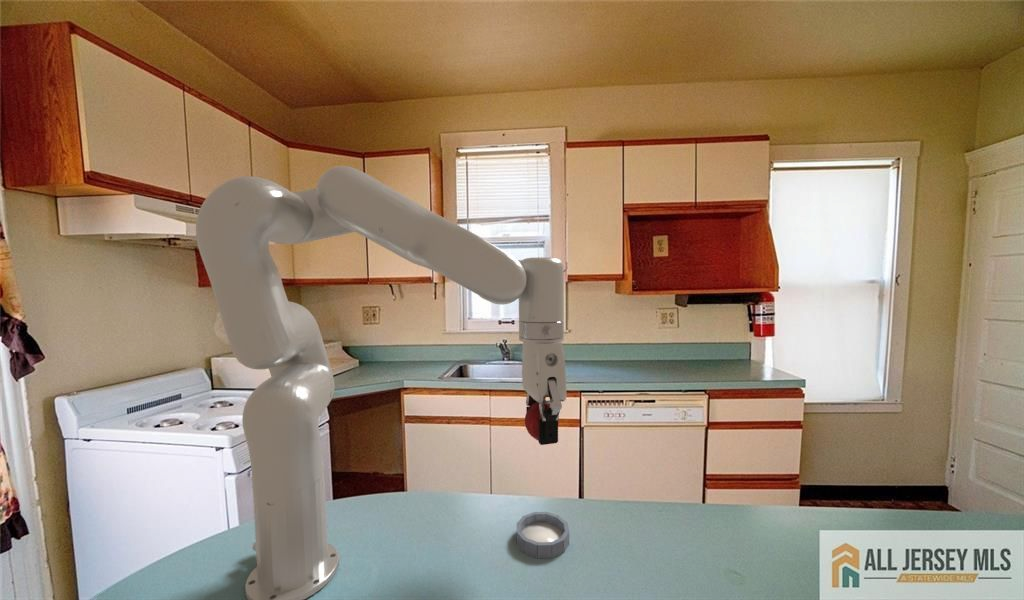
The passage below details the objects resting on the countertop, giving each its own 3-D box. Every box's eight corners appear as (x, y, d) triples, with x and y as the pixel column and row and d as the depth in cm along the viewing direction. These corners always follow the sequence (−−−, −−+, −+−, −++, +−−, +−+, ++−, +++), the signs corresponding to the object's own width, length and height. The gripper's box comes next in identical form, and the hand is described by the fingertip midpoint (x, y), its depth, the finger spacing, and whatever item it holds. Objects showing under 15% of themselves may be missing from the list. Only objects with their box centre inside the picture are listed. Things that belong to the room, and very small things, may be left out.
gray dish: (507, 546, 67) (507, 534, 67) (531, 518, 75) (531, 506, 75) (555, 565, 63) (555, 552, 63) (576, 532, 71) (576, 521, 70)
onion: (557, 450, 64) (557, 402, 64) (522, 448, 65) (522, 400, 65) (559, 436, 70) (559, 392, 69) (527, 434, 71) (527, 390, 71)
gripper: (583, 337, 59) (583, 454, 60) (544, 324, 76) (545, 416, 77) (536, 340, 57) (537, 461, 58) (506, 325, 74) (507, 420, 75)
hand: (541, 434), depth 68 cm, fingers closed on onion, 5 cm apart
